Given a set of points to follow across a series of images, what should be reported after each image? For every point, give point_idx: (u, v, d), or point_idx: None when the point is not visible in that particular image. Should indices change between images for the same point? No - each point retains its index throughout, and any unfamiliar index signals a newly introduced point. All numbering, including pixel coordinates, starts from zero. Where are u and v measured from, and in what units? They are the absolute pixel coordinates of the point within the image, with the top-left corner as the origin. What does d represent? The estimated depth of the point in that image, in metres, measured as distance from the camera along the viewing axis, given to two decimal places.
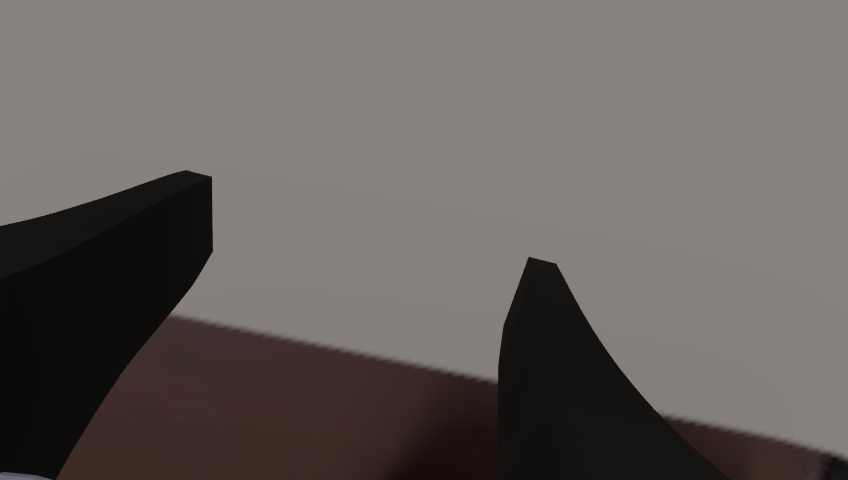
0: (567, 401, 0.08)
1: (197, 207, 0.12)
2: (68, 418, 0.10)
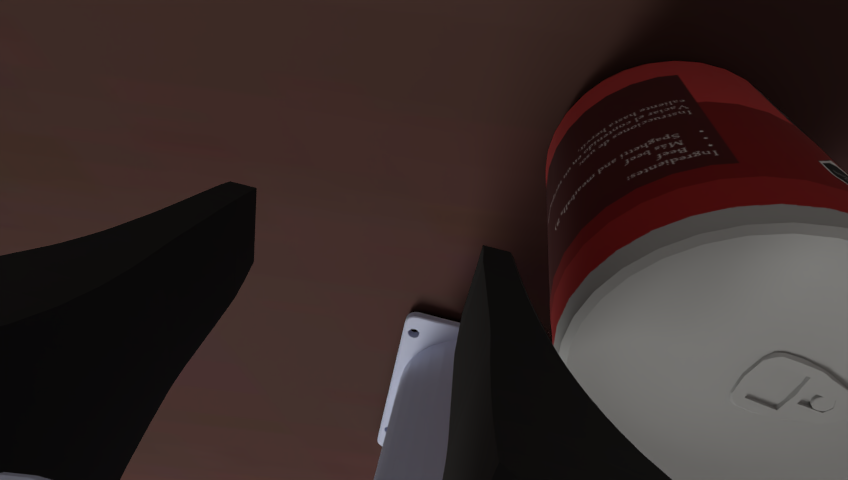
0: (495, 383, 0.08)
1: (243, 219, 0.12)
2: (125, 433, 0.10)
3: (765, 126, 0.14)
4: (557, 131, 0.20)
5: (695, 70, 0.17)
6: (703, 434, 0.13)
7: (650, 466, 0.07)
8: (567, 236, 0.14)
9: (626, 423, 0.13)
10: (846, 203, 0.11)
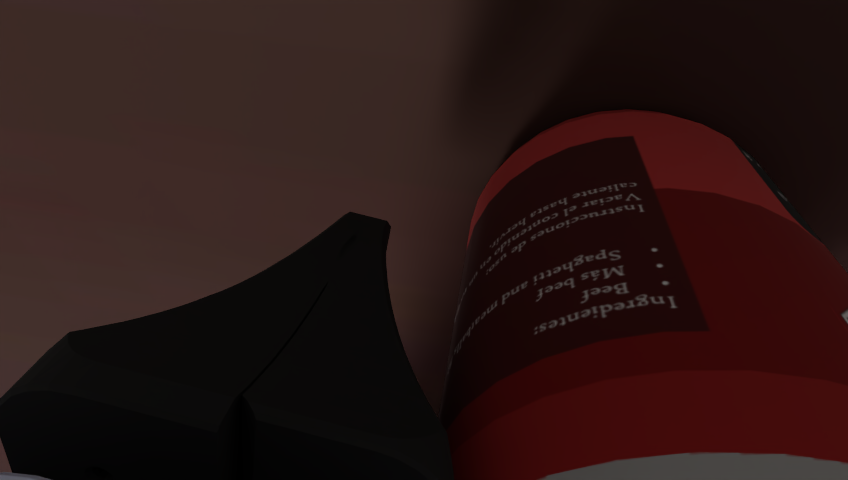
0: (303, 333, 0.08)
1: None
2: None
3: (754, 239, 0.09)
4: (480, 200, 0.15)
5: (658, 128, 0.13)
6: None
7: (422, 407, 0.07)
8: (450, 406, 0.09)
9: None
10: None
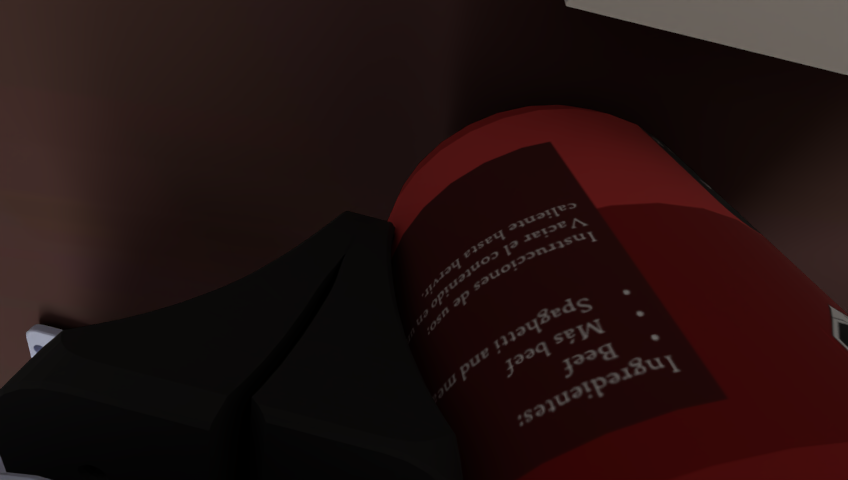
0: (310, 335, 0.08)
1: None
2: None
3: (719, 256, 0.08)
4: None
5: (572, 128, 0.12)
6: None
7: (431, 409, 0.07)
8: None
9: None
10: None
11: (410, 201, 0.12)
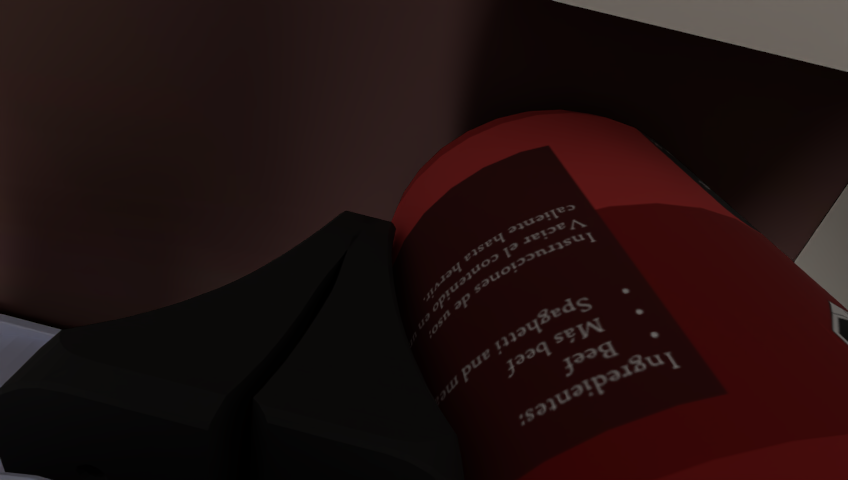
0: (311, 335, 0.08)
1: None
2: None
3: (717, 254, 0.08)
4: None
5: (570, 131, 0.12)
6: None
7: (432, 409, 0.07)
8: None
9: None
10: None
11: (411, 207, 0.12)
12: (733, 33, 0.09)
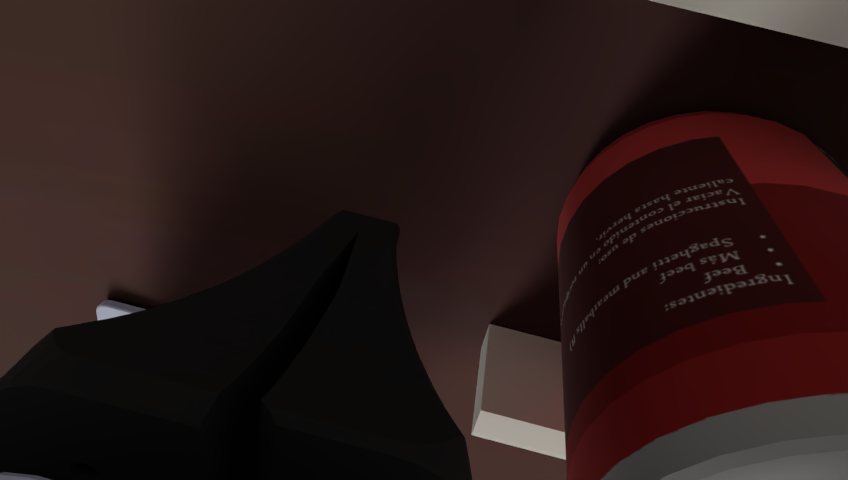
0: (317, 336, 0.08)
1: None
2: None
3: None
4: (569, 198, 0.16)
5: (740, 128, 0.14)
6: None
7: (439, 411, 0.07)
8: (587, 375, 0.11)
9: None
10: None
11: (592, 176, 0.16)
12: None
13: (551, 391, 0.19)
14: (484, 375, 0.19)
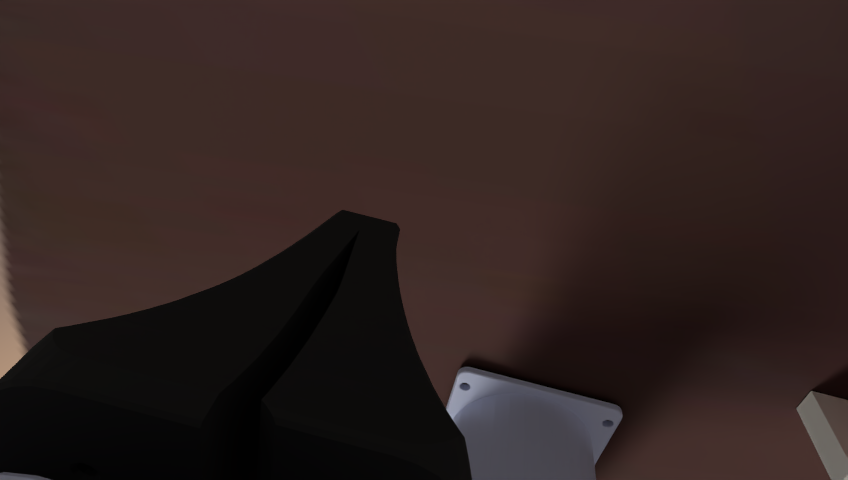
0: (317, 336, 0.08)
1: None
2: None
3: None
4: None
5: None
6: None
7: (439, 411, 0.07)
8: None
9: None
10: None
11: None
12: None
13: None
14: (835, 438, 0.23)
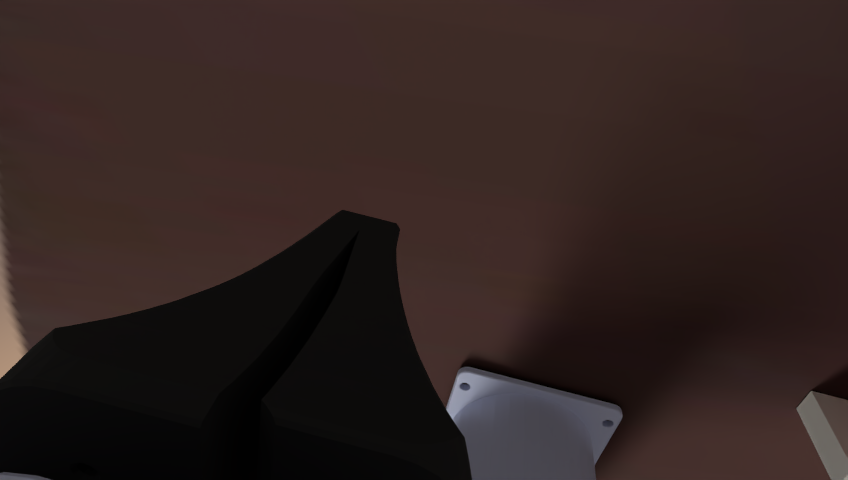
0: (317, 336, 0.08)
1: None
2: None
3: None
4: None
5: None
6: None
7: (439, 411, 0.07)
8: None
9: None
10: None
11: None
12: None
13: None
14: (835, 438, 0.23)
